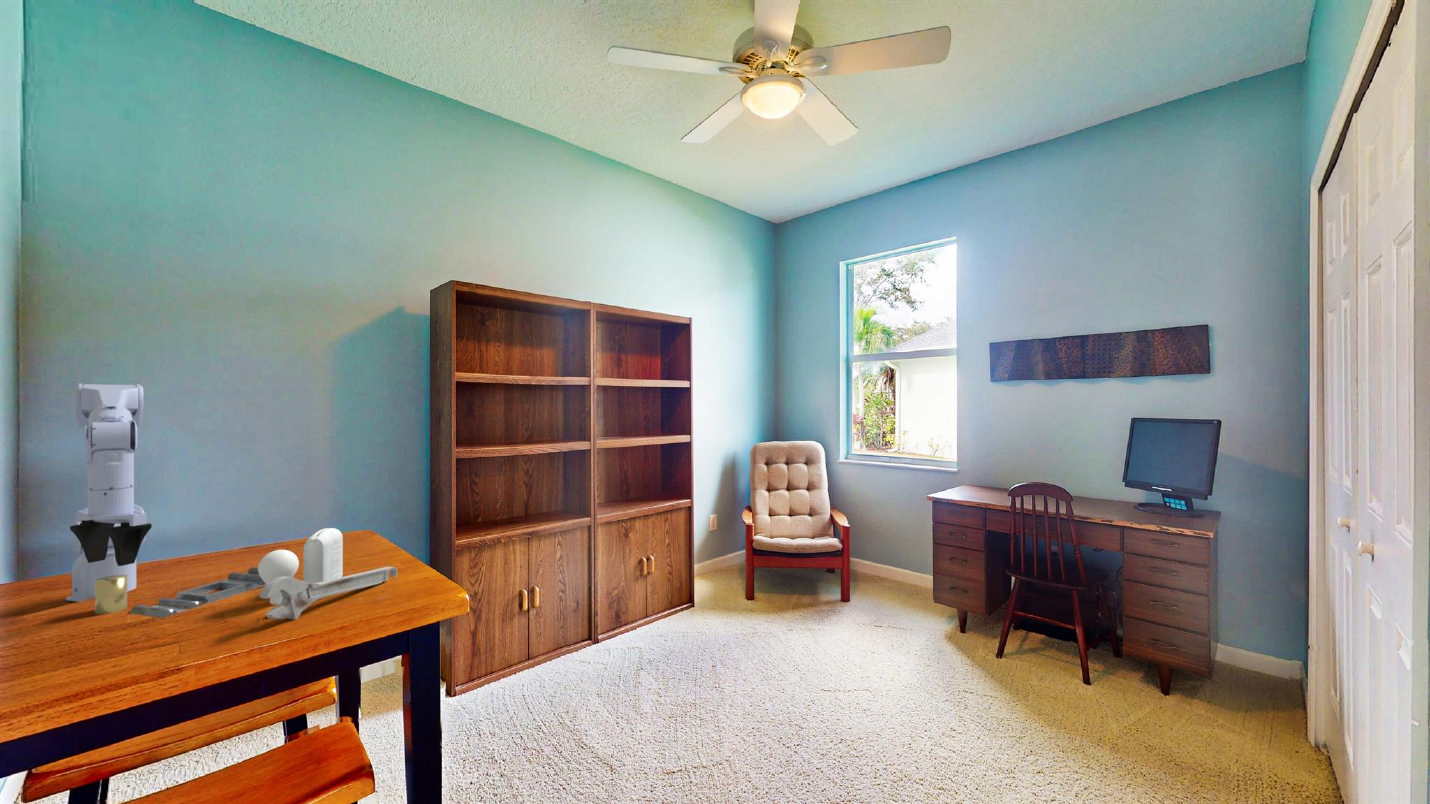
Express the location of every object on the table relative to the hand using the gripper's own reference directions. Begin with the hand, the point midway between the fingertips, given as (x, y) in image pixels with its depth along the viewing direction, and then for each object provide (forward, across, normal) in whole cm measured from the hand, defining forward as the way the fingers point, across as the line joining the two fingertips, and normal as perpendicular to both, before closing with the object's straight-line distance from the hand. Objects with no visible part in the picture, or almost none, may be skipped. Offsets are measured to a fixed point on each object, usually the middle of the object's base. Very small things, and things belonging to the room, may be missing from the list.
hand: (111, 562), depth 102 cm
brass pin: (+10, 0, 0) cm, 10 cm away
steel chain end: (+10, +9, +7) cm, 15 cm away
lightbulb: (+10, +25, +11) cm, 29 cm away
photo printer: (+10, +23, +22) cm, 33 cm away
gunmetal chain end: (+10, +9, +15) cm, 20 cm away
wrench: (+10, +32, +17) cm, 38 cm away
